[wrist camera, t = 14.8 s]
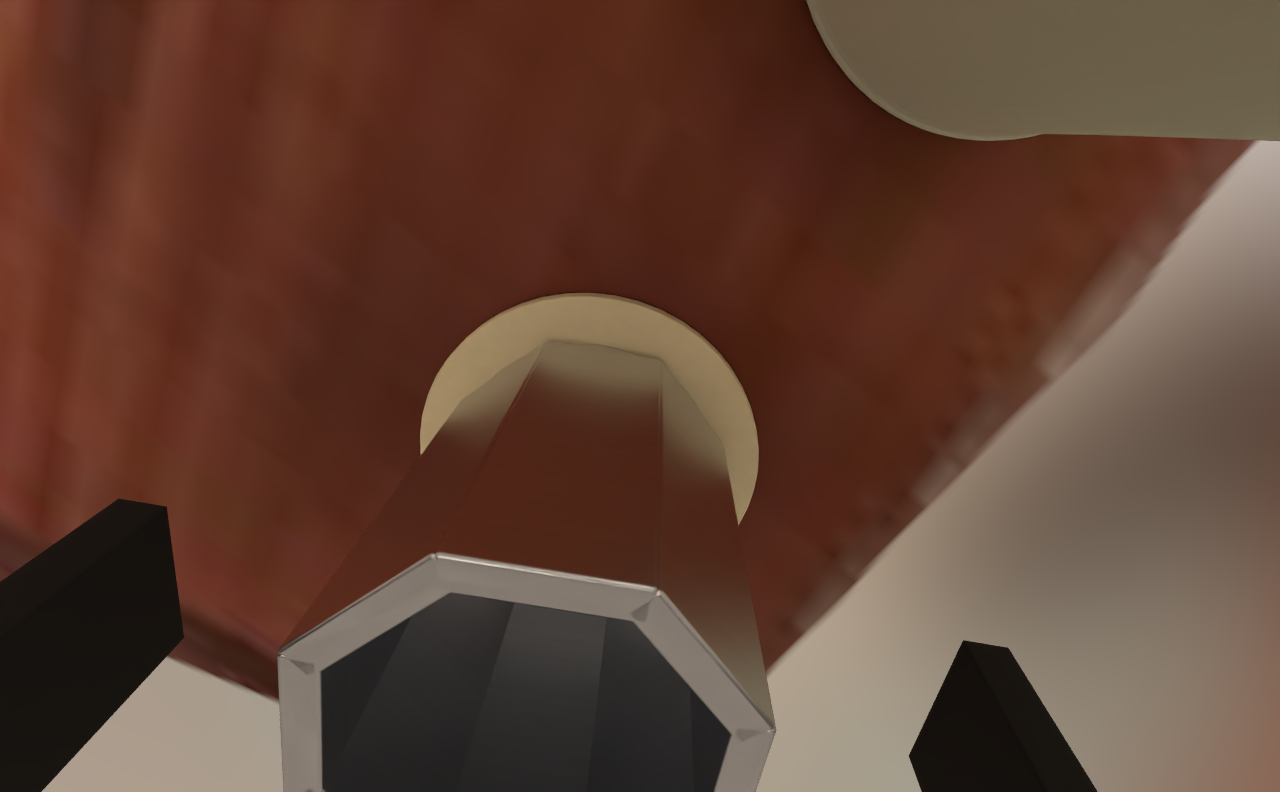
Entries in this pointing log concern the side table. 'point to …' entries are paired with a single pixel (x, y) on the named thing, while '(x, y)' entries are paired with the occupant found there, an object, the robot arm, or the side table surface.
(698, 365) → the coaster
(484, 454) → the steel cup
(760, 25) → the side table surface
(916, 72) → the can
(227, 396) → the side table surface
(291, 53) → the side table surface
